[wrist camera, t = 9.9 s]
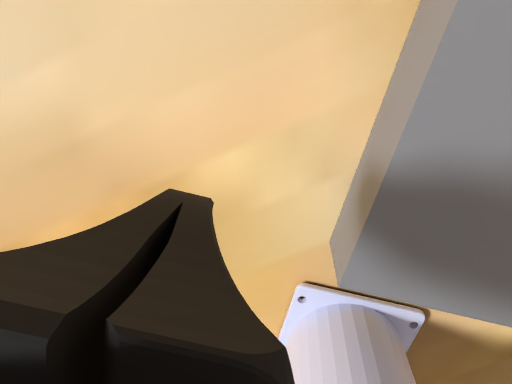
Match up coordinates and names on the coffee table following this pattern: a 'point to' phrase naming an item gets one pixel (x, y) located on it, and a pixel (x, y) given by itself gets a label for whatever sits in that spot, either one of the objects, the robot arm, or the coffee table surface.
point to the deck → (438, 170)
